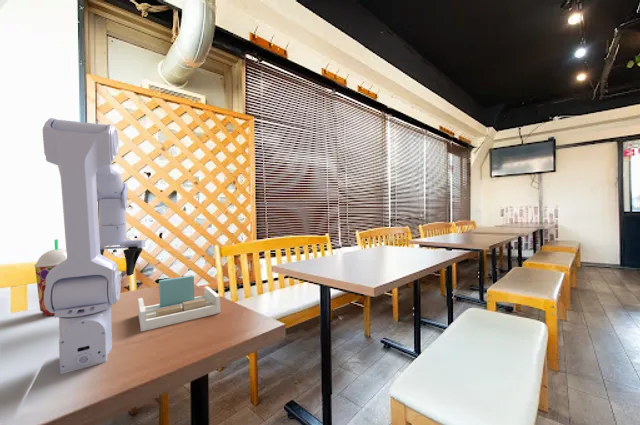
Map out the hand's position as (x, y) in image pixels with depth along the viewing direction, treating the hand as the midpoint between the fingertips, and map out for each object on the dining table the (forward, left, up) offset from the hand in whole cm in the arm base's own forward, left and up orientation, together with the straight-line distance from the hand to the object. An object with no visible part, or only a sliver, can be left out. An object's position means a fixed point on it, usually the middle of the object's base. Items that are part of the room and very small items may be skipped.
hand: (114, 275), depth 72 cm
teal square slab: (-11, -13, -9) cm, 20 cm away
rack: (-14, -13, -10) cm, 22 cm away
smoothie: (+12, +13, -10) cm, 20 cm away
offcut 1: (-18, -11, -9) cm, 23 cm away
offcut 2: (-18, -16, -9) cm, 26 cm away
